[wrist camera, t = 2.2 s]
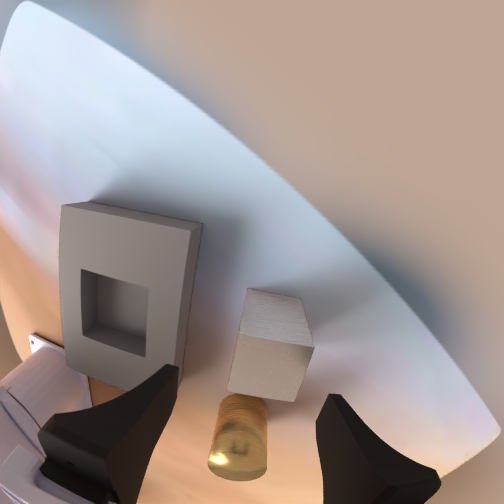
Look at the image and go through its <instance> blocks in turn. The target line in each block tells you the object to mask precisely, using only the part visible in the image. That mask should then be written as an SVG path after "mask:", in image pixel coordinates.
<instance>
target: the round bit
mask: <svg viewBox="0 0 504 504" xmlns="http://www.w3.org/2000/svg"><path fill="white" fill-rule="evenodd" d="M208 467H209V469H210V470H211V471H212V472H213V473H214V474H216V475H217V476H219V477H222V478H224V479H228V480H232V481H250V480H254V479H257V478H259V477H261V476H262V475H264V474H265V472H266V470H267V406H266V404H265V403H264V401H263V400H261V399H260V398H259V397H256V396H250V395H245V394H239V393H237V394H232V395H230V396H228V397H226V398H225V399H223V401H222V402H221V404H220V408H219V413H218V417H217V422H216V427H215V431H214V436H213V441H212V445H211V450H210V455H209V459H208Z"/></svg>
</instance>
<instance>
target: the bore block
mask: <svg viewBox="0 0 504 504" xmlns="http://www.w3.org/2000/svg"><path fill="white" fill-rule="evenodd" d="M202 228H203V224H201V223H196V222H191V221H186V220H181V219H176V218H171V217H166V216H161V215H156V214H151V213H146V212H140V211H135V210H130V209H125V208H119V207H114V206H109V205H103V204H98V203H92V202H80V203H73V204H65V205H62V207H61V219H60V236H59V294H60V311H61V323H62V333H63V342H64V349H65V356H66V363H67V367H69V368H71V369H73V370H75V371H77V372H79V373H82V374H84V375H86V376H89V377H91V378H93V379H96V380H98V381H101V382H103V383H106V384H108V385H111V386H113V387H116V388H119V389H121V390H124V391H127V392H128V391H130V390H131V389H133V388H135V387H136V386H138V385H139V384H141V383H142V382H143V381H145V380H146V379H148V378H149V377H150V376H152V375H153V374H154V373H155V372H157V371H158V370H159V369H160V368H161V367H163V366H164V365H165V364H171V365H174V366H178V367H179V376H178V387H179V385H180V383H181V379H182V370H183V360H184V352H185V343H186V335H187V327H188V319H189V312H190V304H191V297H192V290H193V284H194V277H195V270H196V264H197V258H198V252H199V246H200V240H201V234H202ZM177 390H178V388H177Z"/></svg>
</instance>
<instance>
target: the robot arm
mask: <svg viewBox="0 0 504 504" xmlns="http://www.w3.org/2000/svg"><path fill="white" fill-rule="evenodd" d="M29 339H30V345H31V350H32V355H31V356H30V357H28V358H27V359H26V360H25V361H23V362H22V363H21V364H20V365H19V366H17V367H16V368H15V369H14V370H13V371H11V372H10V373H9V374H8V375H7V376H6V377H4V378H3V379H2V380H1V381H0V504H136V502H137V499H138V495H139V492H140V488H141V485H142V482H143V479H144V476H145V473H146V469H147V466H148V464H149V461H150V458H151V455H152V452H153V450H154V448H155V446H156V444H157V442H158V440H159V438H160V436H161V434H162V432H163V430H164V428H165V426H166V424H167V422H168V420H169V417H170V415H171V413H172V410H173V407H174V404H175V401H176V398H177V388H178V376H179V367H178V366H174V365H171V364H165V365H164V366H163V367H161V368H160V369H159V370H158V371H157V372H155V373H154V374H153V375H152V376H150V377H149V378H148V379H146V380H145V381H143V382H142V383H141V384H139V385H138V386H136V387H135V388H133V389H131V390H130V391H128V392H126V393H125V394H123V395H121V396H119V397H117V398H115V399H113V400H110V401H108V402H105V403H103V404H100V405H97V406H94V407H92V402H91V396H90V390H89V383H88V376H86V375H84V374H82V373H79V372H77V371H75V370H73V369H71V368H69V367H67V363H66V356H65V349H63V348H61V347H59V346H57V345H55V344H53V343H51V342H49V341H47V340H45V339H43V338H41V337H39V336H37V335H35V334H33V333H31V334H30V335H29ZM316 441H317V447H318V452H319V458H320V463H321V469H322V475H323V504H424V503H425V502H426V501H427V500H428V499H429V498H431V497H432V496H433V495H434V494H435V493H436V492H437V491H438V489H439V488H440V486H441V480H440V478H439V476H438V474H437V472H436V470H435V469H432V468H429V467H427V466H424V465H422V464H419V463H417V462H415V461H413V460H411V459H409V458H408V457H406V456H404V455H402V454H401V453H399V452H398V451H396V450H395V449H393V448H392V447H390V446H389V445H388V444H387V443H385V442H384V441H383V440H382V439H380V438H379V437H378V436H377V435H376V434H375V433H374V432H373V431H372V430H371V429H370V428H369V427H368V426H367V425H366V424H365V423H364V422H363V421H362V419H361V418H360V417H359V416H358V415H357V414H356V412H355V411H354V410H353V409H352V408H351V406H350V405H349V404H348V403H347V401H346V400H345V399H344V398H343V397H342V396H341V394H329V395H328V397H327V399H326V401H325V403H324V405H323V408H322V410H321V412H320V414H319V416H318V418H317V420H316Z"/></svg>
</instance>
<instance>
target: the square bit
mask: <svg viewBox="0 0 504 504" xmlns="http://www.w3.org/2000/svg"><path fill="white" fill-rule="evenodd" d="M314 348H315V347H314V343H313V340H312V336H311V333H310V329H309V326H308V323H307V319H306V316H305V312H304V309H303V306H302V302H301V299H298V298H292V297H287V296H282V295H277V294H272V293H267V292H263V291H258V290H253V289H247V294H246V298H245V303H244V307H243V312H242V317H241V321H240V326H239V331H238V335H237V341H236V346H235V351H234V356H233V361H232V366H231V371H230V377H229V382H228V387H227V391H229V392H234V393H239V394H245V395H250V396H256V397H262V398H268V399H275V400H282V401H289V402H294V401H295V398H296V396H297V393H298V391H299V388H300V386H301V383H302V381H303V378H304V375H305V373H306V370H307V367H308V364H309V362H310V359H311V356H312V353H313V350H314Z"/></svg>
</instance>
